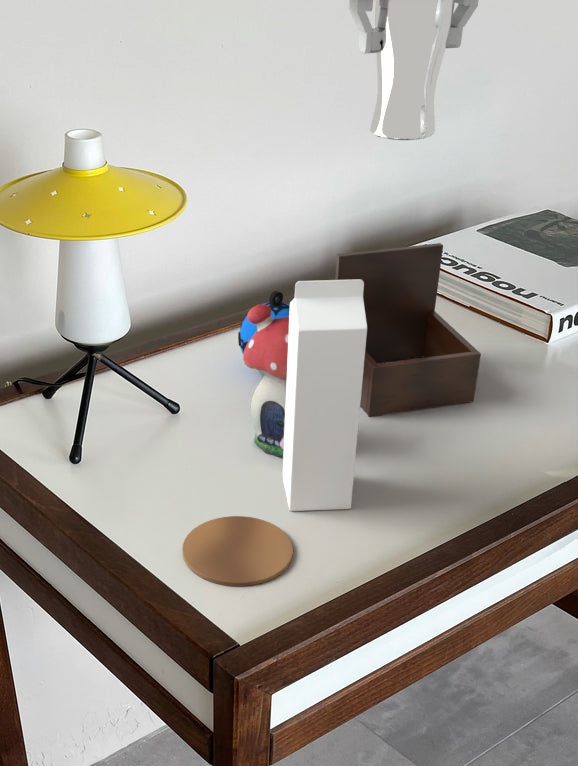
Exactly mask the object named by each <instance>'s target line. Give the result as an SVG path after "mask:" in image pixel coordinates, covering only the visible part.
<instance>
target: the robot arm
mask: <svg viewBox="0 0 578 766" xmlns="http://www.w3.org/2000/svg"><path fill="white" fill-rule="evenodd" d="M455 4H457V6H456V8H455V9H454V12H453V18H452V24H451V28H450V33H449V37H448V41H447V45H446V49H459V48H460V47H461V45H462V38H463V30H464V27H466V25H467V24H468V22H469V21H470V19H471V17H472V16H473V14H474V13H475V11H476V10H477V8H478V6H479V0H455ZM373 9H374V0H349V1H348V10H349V12H350V14H351V17H352V19H353V20H354V23H355V25H356V28H357V29H358V31H359V32H358V45H357V46H358V52H359V53H361V54H364V55H366V54H375V53H379V52H380V50H381V44H380V42H381V40H382V32H380V31H377V30H375V29H374V27H373V26H372V24H371V20H370V18H369V17H368V14H367V12H372V11H373Z"/></svg>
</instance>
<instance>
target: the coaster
mask: <svg viewBox="0 0 578 766" xmlns="http://www.w3.org/2000/svg"><path fill="white" fill-rule="evenodd" d="M181 551H182V558H183V561H184V562H185V564H186V566H187V567H188V568H189V570H190V571H191V572H192V573H193V574H195V575H197V576H198V577H200V578H201V579H202V580H206V581H208V582H211V583H214V584H217V585H222V586H230V587H249V586H256V585H260V584H263V583H267V582H269V581H271V580H273V579H275V578H277V577H279V576H280V575H281V574H282V573H284V572H285V571H286V570H287V569H288V567H289V566H290V565H291V562H292V561H293V556H294V547H293V543H292V541H291V539H290V537H289V536H288V534H287V533H286V532H285V531H284V530H282V528H280V527H279V526H277V525H276V524H274V523H271V522H270V521H267V520H264V519H261V518H257V517H252V516H243V515H230V516H221V517H217V518H213V519H209V520H207V521H205V522H203V523H201V524H199V525H197V526H196V527H194V528H193V529H192V530H190V532H189V533H188V534H187V535H186V537H185V538H184V541H183V542H182V549H181Z"/></svg>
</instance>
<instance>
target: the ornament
mask: <svg viewBox="0 0 578 766" xmlns="http://www.w3.org/2000/svg"><path fill="white" fill-rule="evenodd" d="M268 300H269V302H266V303H265V302H264V304H265V305H268V306H269V307H270V308H271V317H272V318H276V319H278V318H284V317H289V313H290V303H289V304H288V303H285V302H283V300H284V294H283V292H281V291H279V290H274V291H273V292H272V293H270V295H269V299H268ZM256 331H257V325H256V324H253V323H251V322H249V321H248V319H247V315H246V316H245V317H244V320H243V321H242V323H241V324H240V328H239V331H238V334H237V339H238V340H237V343H238V347H240V350H241V353H242V355H243V354H244V350H245V347H246V345H247V343H248V342H249V340H250V339H251V338H252V337H253V335H254V334H255V333H256Z"/></svg>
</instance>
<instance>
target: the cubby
mask: <svg viewBox="0 0 578 766" xmlns="http://www.w3.org/2000/svg"><path fill="white" fill-rule="evenodd" d="M443 250H444V245H443V244H442V242H437V243H429V244H419V245H410V246H401V247H391V248H382V249H372V250H362V251H354V252H345V253H337V254H336V264H335V278H334V280H357V279H361V280H362V281H363V282H364V290H363V300H364V308H365V315H366V322H367V336H366V347H365V358H364V369H363V380H362V391H361V402H360V408H362V410H363V411H364V412H365V413H366V415H367V416H368V417H374V416H375V417H376V416H381V415H382V416H383V415H390V414H396V413H404V412H410V411H418V410H425V409H432V408H439V407H446V406H454V405H460V404H468V403H473V402H474V400H475V395H476V394H475V392H476V388H477V381H478V375H479V369H480V362H481V356H482V353H481V351H479V350H478V349H476V348H475V346H474V345H472V343H470V342H469V341H468V340H467V339H466V338H465V337H464V336H463V335H462V334H460V332H458V331H457V330H456V329H455V328H454V327H453V326H451V324H450V323H449V322H447V320H445V319H444V318H443V317H442V316H441V315H440V314H438V312H437V311H436V304H437V297H438V296H437V295H438V288H439V282H440V273H441V266H442V257H443V252H444V251H443Z"/></svg>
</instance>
